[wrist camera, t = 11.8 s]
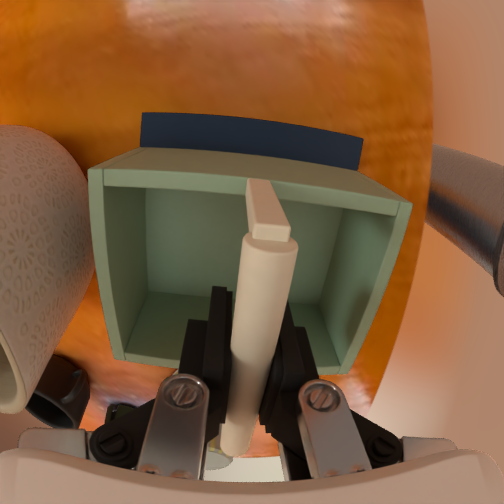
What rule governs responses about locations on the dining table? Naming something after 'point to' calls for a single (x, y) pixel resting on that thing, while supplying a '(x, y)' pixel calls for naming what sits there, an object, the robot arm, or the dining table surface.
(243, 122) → the mat
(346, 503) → the robot arm
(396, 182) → the dining table surface
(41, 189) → the planter
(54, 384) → the mug
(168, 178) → the box
